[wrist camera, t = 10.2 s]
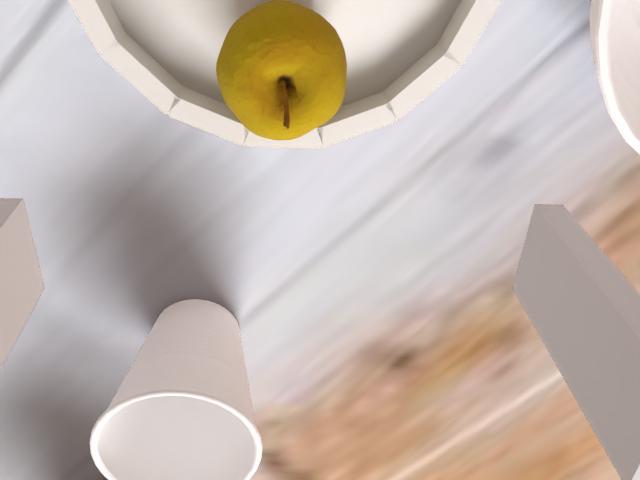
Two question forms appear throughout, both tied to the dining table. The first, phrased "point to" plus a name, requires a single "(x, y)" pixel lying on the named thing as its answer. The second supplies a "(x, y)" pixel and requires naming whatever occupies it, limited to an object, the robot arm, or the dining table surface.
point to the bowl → (618, 62)
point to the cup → (182, 403)
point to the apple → (282, 70)
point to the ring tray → (331, 3)
